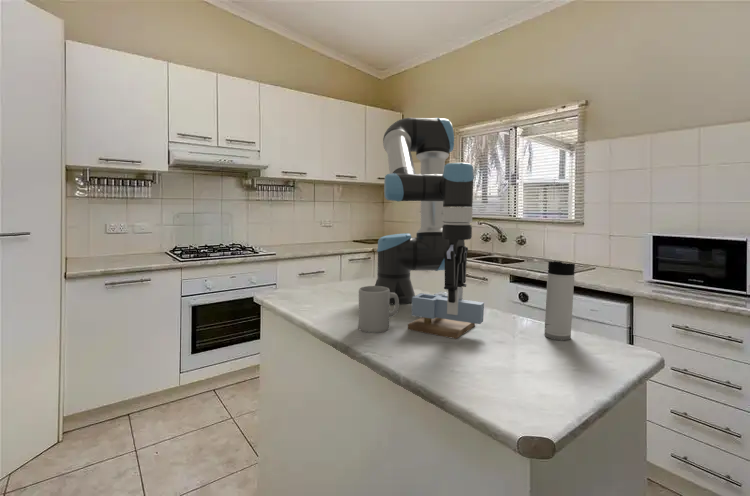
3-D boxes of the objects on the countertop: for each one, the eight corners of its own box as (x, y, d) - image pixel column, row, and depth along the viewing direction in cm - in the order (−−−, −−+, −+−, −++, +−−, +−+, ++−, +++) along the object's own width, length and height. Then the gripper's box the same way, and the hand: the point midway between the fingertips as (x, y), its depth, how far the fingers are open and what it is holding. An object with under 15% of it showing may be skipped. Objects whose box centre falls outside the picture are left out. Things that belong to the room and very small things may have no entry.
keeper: (439, 315, 120) (439, 291, 119) (455, 318, 117) (456, 293, 117) (432, 319, 116) (432, 293, 115) (448, 322, 114) (449, 296, 113)
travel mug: (540, 337, 106) (544, 260, 104) (549, 331, 111) (553, 258, 109) (565, 342, 102) (570, 263, 100) (574, 336, 107) (578, 260, 105)
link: (411, 315, 111) (412, 297, 111) (420, 310, 117) (421, 293, 116) (478, 325, 103) (479, 306, 102) (484, 319, 108) (485, 301, 108)
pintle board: (429, 318, 123) (430, 293, 122) (474, 325, 116) (475, 299, 115) (407, 329, 112) (408, 302, 111) (456, 338, 104) (457, 310, 104)
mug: (366, 334, 107) (367, 293, 106) (353, 325, 115) (353, 287, 114) (406, 328, 113) (406, 289, 112) (390, 320, 120) (391, 283, 119)
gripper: (452, 222, 115) (450, 304, 118) (432, 224, 101) (430, 317, 103) (479, 223, 112) (476, 307, 114) (462, 225, 98) (459, 321, 100)
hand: (454, 312), depth 109 cm, fingers closed on link, 3 cm apart
